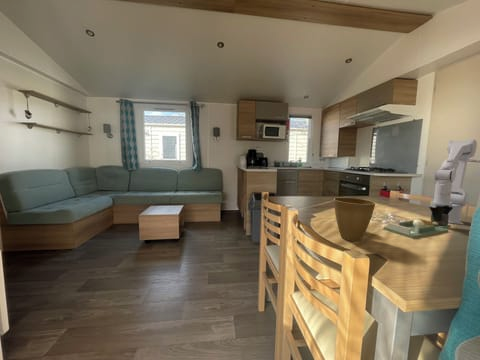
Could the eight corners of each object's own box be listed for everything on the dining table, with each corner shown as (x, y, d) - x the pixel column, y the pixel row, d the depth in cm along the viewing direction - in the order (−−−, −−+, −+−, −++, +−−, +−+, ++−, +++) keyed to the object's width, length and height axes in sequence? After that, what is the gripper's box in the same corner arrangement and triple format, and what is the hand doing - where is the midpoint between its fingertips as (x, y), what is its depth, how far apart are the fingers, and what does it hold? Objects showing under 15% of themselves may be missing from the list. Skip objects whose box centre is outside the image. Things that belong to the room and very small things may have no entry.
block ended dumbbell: (435, 222, 105) (436, 212, 104) (447, 225, 100) (449, 214, 99) (417, 224, 100) (419, 214, 99) (430, 228, 95) (431, 217, 94)
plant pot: (379, 247, 76) (382, 205, 74) (336, 243, 79) (339, 202, 77) (363, 233, 91) (366, 197, 89) (328, 230, 94) (330, 196, 92)
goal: (396, 226, 97) (397, 218, 97) (418, 233, 89) (419, 224, 88) (387, 228, 95) (388, 219, 94) (409, 235, 86) (410, 225, 86)
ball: (411, 226, 98) (412, 218, 98) (422, 227, 96) (423, 219, 96) (413, 228, 95) (414, 220, 95) (424, 230, 93) (425, 221, 93)
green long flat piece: (428, 222, 109) (429, 216, 108) (459, 229, 97) (459, 223, 97) (383, 229, 96) (384, 223, 96) (412, 238, 85) (413, 231, 85)
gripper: (440, 191, 106) (437, 217, 108) (423, 193, 101) (420, 219, 103) (459, 194, 100) (455, 221, 101) (441, 195, 95) (438, 223, 96)
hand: (439, 220), depth 101 cm, fingers closed on block ended dumbbell, 4 cm apart
